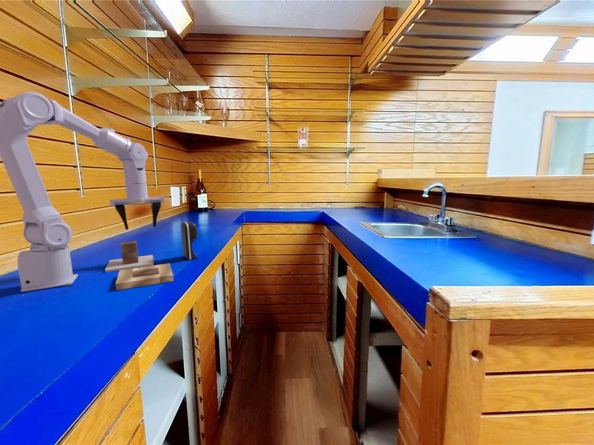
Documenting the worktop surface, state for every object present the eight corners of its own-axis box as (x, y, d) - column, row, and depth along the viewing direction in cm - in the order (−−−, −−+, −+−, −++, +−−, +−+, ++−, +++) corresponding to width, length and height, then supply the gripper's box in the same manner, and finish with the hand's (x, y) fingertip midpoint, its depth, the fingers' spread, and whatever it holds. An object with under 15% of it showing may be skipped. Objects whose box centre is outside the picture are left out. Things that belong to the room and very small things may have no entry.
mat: (105, 272, 81) (104, 270, 81) (110, 262, 92) (109, 260, 91) (153, 265, 86) (153, 263, 86) (152, 256, 97) (152, 254, 97)
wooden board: (116, 290, 67) (115, 284, 67) (120, 275, 77) (119, 270, 77) (173, 280, 72) (173, 275, 72) (170, 268, 83) (169, 263, 82)
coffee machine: (200, 258, 93) (197, 222, 91) (187, 260, 91) (184, 223, 89) (195, 254, 99) (192, 220, 97) (183, 256, 97) (180, 221, 95)
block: (123, 264, 86) (120, 244, 85) (123, 261, 89) (121, 242, 88) (138, 262, 88) (136, 242, 87) (138, 259, 91) (136, 240, 90)
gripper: (107, 184, 83) (113, 232, 85) (163, 182, 90) (168, 226, 92) (108, 184, 89) (113, 229, 91) (160, 182, 96) (164, 224, 98)
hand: (141, 227), depth 92 cm, fingers open, 7 cm apart
